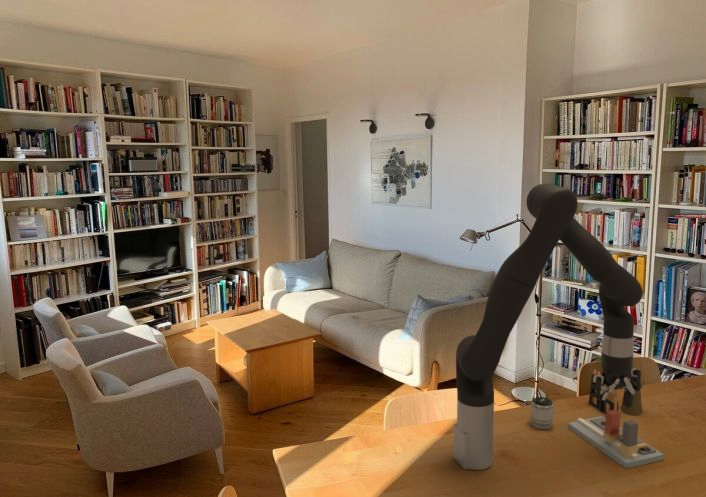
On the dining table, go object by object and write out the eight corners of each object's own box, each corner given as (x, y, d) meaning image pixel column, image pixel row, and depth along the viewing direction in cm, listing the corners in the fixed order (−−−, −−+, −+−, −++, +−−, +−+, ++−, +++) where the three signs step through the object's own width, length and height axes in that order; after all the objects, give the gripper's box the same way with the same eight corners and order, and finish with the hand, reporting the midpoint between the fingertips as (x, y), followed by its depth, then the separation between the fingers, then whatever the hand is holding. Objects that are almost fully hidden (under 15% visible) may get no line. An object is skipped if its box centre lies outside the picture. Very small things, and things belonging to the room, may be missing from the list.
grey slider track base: (626, 468, 136) (628, 430, 134) (567, 427, 157) (569, 394, 155) (663, 459, 140) (666, 422, 138) (601, 420, 160) (603, 387, 159)
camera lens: (526, 425, 159) (527, 400, 157) (535, 417, 163) (536, 393, 162) (547, 432, 155) (548, 406, 153) (556, 424, 159) (557, 399, 158)
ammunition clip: (618, 418, 162) (620, 380, 160) (613, 419, 161) (615, 381, 159) (593, 402, 172) (595, 367, 170) (588, 403, 171) (590, 368, 169)
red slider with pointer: (610, 443, 144) (611, 415, 142) (602, 438, 146) (604, 411, 145) (631, 438, 146) (633, 411, 144) (624, 434, 148) (626, 406, 147)
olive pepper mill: (643, 409, 167) (645, 375, 165) (641, 417, 162) (644, 382, 160) (621, 404, 170) (623, 371, 168) (619, 412, 165) (621, 378, 163)
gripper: (605, 360, 135) (602, 420, 138) (650, 352, 139) (647, 410, 142) (584, 350, 142) (582, 407, 145) (628, 342, 146) (625, 398, 149)
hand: (614, 408), depth 143 cm, fingers open, 8 cm apart
